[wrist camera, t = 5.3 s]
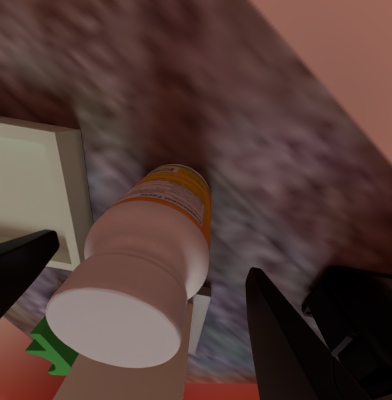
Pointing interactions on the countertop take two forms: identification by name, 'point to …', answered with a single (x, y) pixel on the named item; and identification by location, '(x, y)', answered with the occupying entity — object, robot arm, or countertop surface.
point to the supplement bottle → (138, 272)
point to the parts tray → (44, 186)
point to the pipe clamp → (52, 349)
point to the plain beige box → (139, 377)
